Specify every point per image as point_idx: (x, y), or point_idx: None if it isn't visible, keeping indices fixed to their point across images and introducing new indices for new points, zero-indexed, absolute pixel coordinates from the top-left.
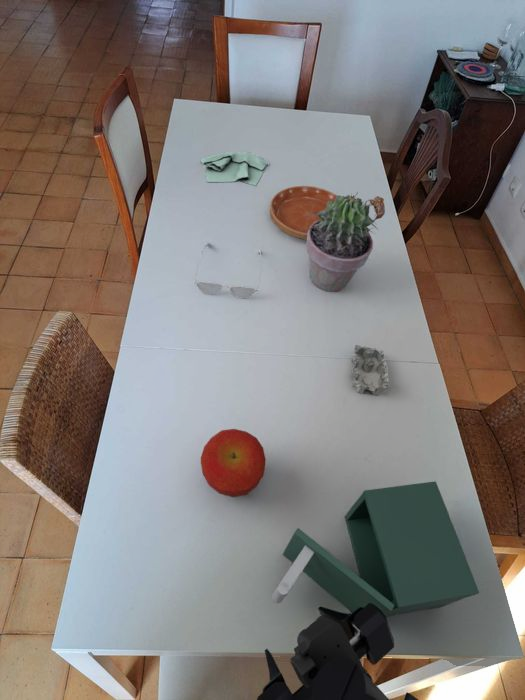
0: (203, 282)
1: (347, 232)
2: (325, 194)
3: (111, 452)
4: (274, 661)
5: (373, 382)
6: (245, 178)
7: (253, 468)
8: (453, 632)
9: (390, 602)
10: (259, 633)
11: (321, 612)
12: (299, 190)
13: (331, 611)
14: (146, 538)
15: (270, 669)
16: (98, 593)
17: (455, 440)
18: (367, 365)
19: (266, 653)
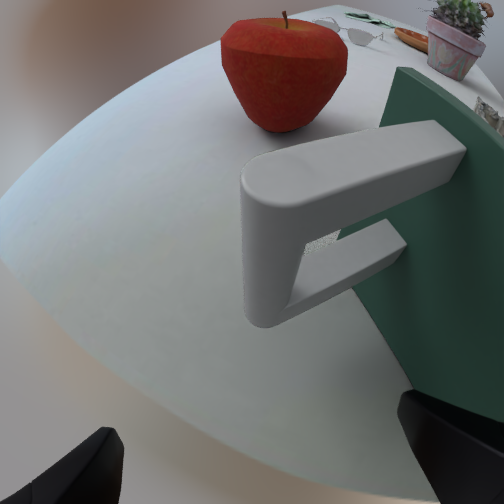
0: (321, 20)
1: (464, 13)
2: None
3: (146, 82)
4: (63, 489)
5: None
6: (377, 23)
7: (316, 37)
8: None
9: None
10: (188, 387)
11: (413, 413)
12: (419, 36)
13: (472, 418)
14: (108, 152)
15: (22, 494)
16: (26, 193)
17: None
18: (491, 117)
19: (89, 439)
